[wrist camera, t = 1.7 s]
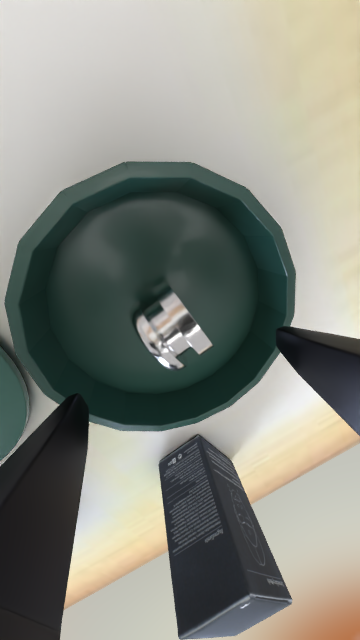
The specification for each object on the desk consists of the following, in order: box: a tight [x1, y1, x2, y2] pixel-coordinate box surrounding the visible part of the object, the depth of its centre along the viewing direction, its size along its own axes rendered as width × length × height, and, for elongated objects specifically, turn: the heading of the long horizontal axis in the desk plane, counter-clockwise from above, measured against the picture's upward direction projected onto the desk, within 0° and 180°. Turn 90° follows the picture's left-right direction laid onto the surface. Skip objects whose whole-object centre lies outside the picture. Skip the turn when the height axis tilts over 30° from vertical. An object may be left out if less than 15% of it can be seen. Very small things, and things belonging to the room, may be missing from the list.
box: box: [159, 435, 292, 640], centre depth 18 cm, size 8×6×11 cm
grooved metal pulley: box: [129, 280, 214, 371], centre depth 12 cm, size 5×3×5 cm, turn 33°
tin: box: [5, 162, 296, 431], centre depth 13 cm, size 16×16×4 cm
